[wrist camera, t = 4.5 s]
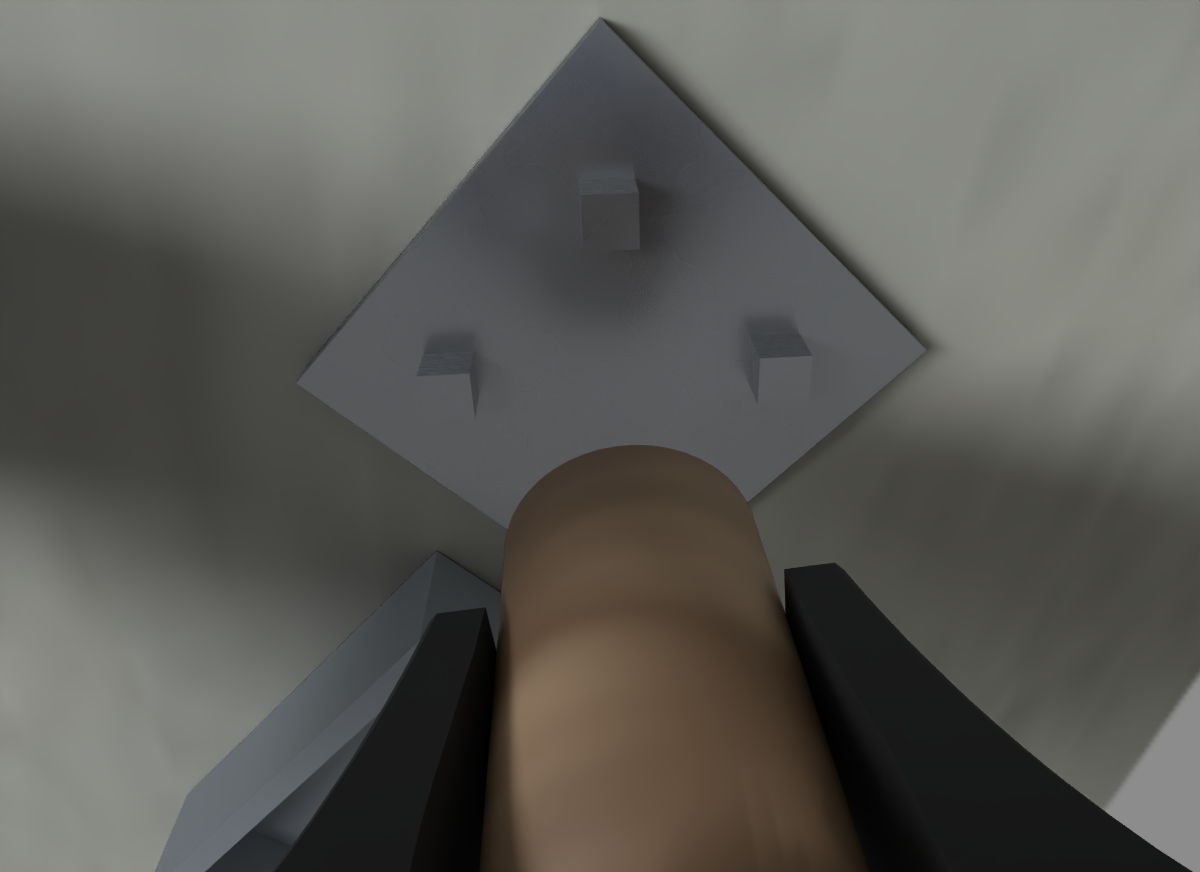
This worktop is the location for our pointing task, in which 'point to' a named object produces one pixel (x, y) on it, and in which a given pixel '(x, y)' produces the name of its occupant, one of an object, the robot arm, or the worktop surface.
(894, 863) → the robot arm
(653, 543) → the brown wooden cylinder
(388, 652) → the bin
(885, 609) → the worktop surface
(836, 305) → the plate
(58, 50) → the worktop surface
